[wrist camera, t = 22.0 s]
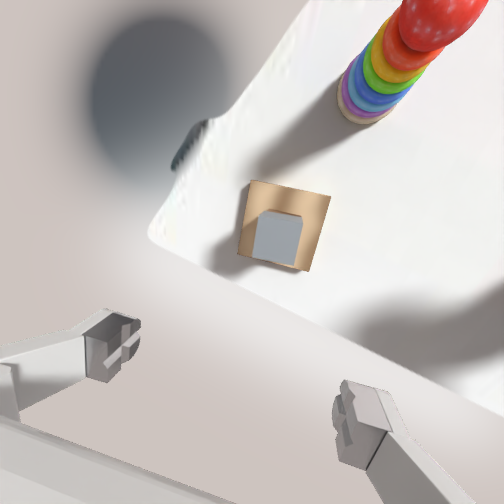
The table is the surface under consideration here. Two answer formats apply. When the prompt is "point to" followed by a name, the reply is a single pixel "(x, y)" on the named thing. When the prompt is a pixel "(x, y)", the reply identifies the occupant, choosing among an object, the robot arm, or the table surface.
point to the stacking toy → (401, 55)
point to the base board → (288, 201)
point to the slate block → (277, 237)
